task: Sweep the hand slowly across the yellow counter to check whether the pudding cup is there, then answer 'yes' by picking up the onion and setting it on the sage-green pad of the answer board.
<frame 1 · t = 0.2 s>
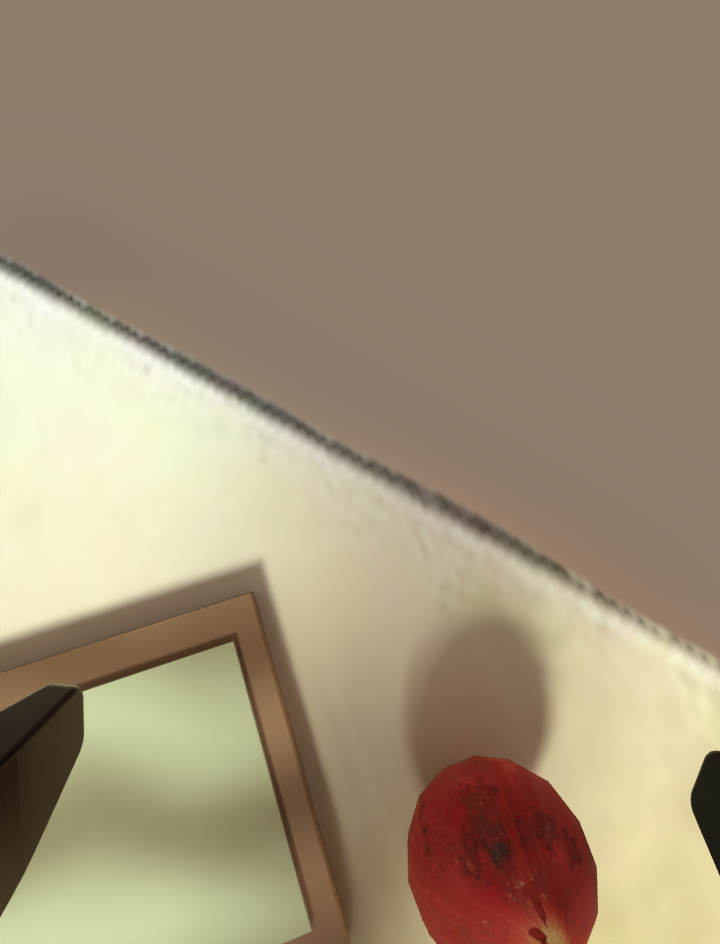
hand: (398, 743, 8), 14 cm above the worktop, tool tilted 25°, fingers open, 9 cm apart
onion: (463, 808, 21), on the worktop
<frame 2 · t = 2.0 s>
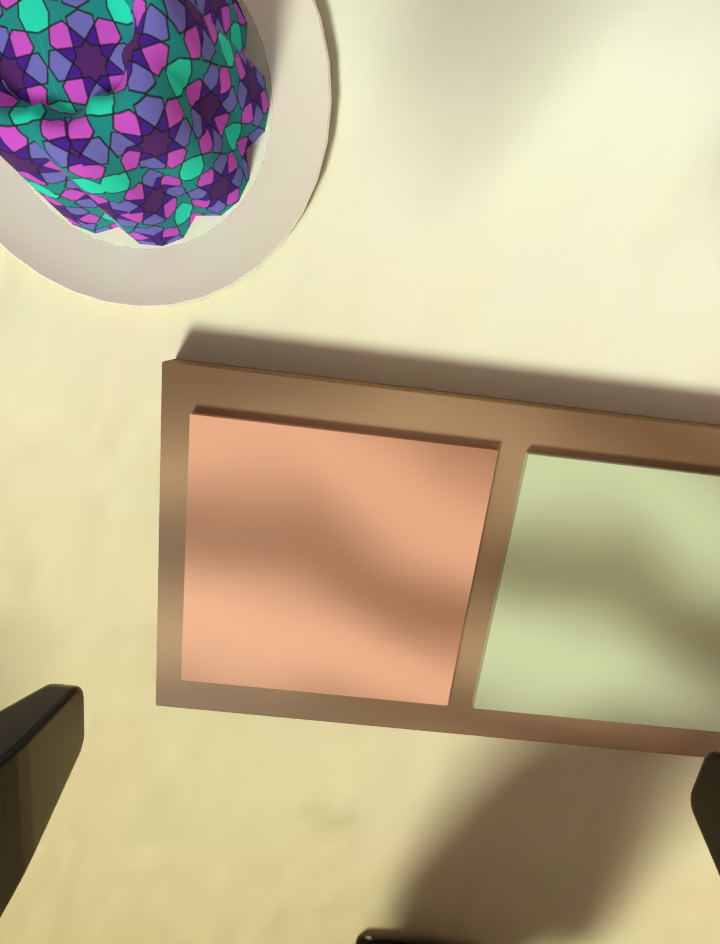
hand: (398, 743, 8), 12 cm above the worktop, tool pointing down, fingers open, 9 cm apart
answer board: (475, 569, 20), on the worktop
pudding: (137, 103, 16), on the worktop
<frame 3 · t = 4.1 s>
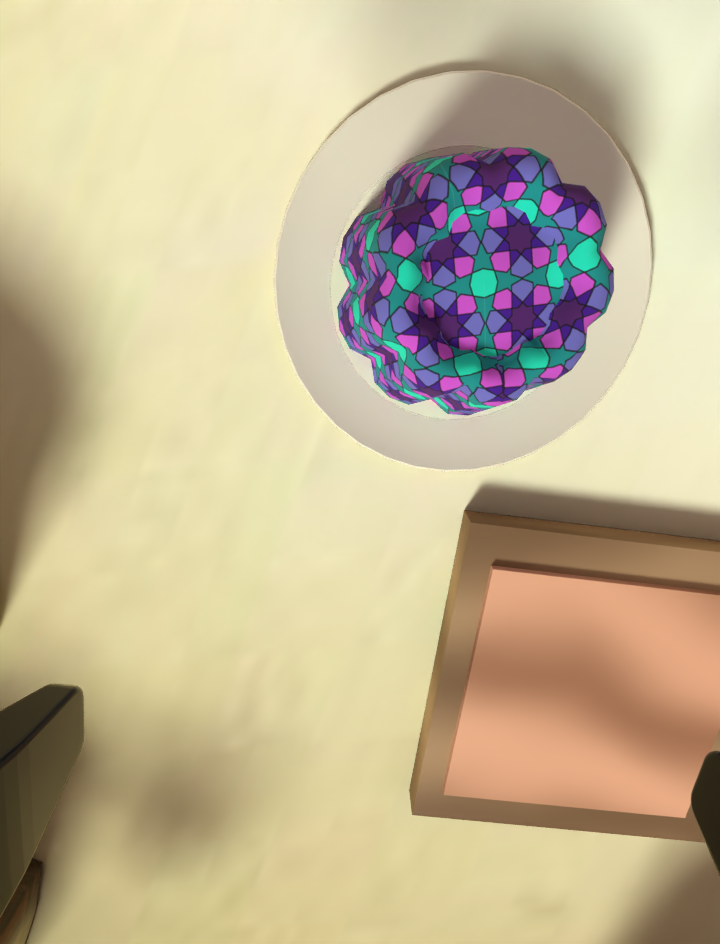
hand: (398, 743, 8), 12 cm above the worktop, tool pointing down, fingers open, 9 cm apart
answer board: (711, 691, 22), on the worktop
pudding: (457, 292, 18), on the worktop
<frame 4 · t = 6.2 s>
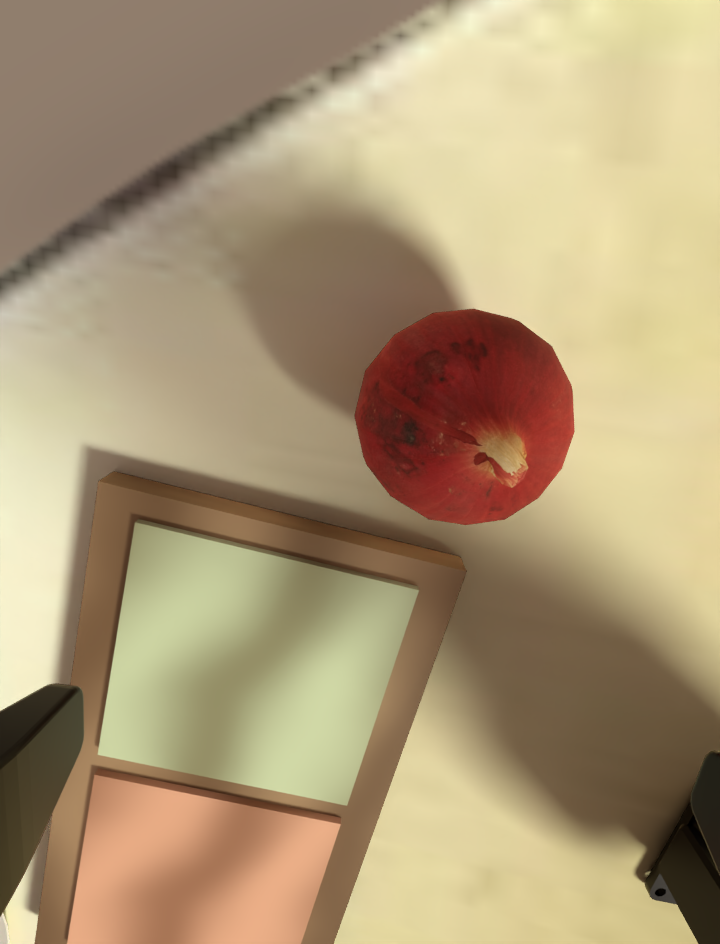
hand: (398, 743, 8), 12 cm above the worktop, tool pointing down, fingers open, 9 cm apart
answer board: (230, 760, 23), on the worktop
onion: (439, 397, 19), on the worktop
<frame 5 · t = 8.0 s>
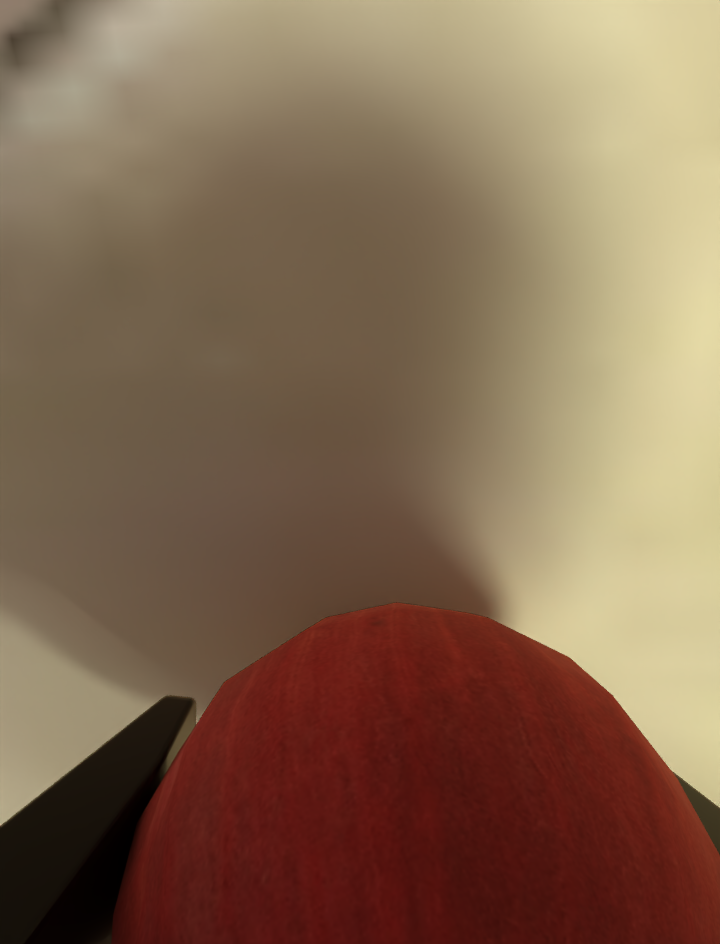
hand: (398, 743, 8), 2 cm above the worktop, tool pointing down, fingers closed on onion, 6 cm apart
onion: (390, 661, 9), on the worktop, touching gripper
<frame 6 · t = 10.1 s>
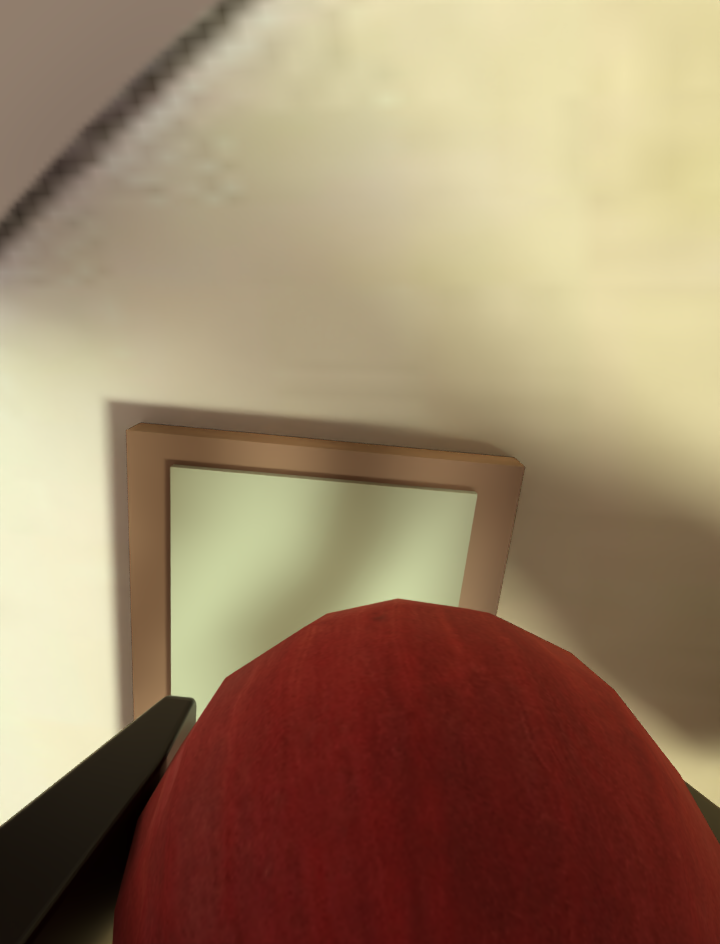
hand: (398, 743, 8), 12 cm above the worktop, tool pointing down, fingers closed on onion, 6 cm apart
answer board: (306, 714, 22), on the worktop
onion: (390, 658, 9), point 10 cm above the worktop, touching gripper
when the fingers open (4 cm above the worktop, at t = 12.4 s): onion stays where it is, resting on answer board.
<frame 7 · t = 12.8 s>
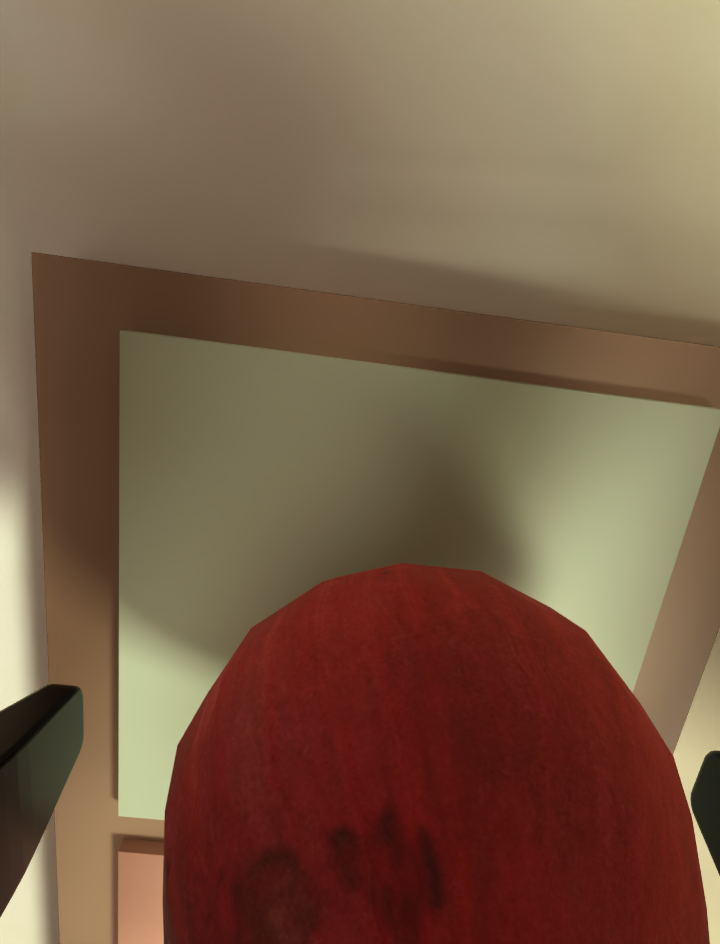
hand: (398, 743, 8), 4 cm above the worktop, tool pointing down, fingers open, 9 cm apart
answer board: (350, 795, 13), on the worktop
onion: (389, 631, 10), point 1 cm above the worktop, touching answer board
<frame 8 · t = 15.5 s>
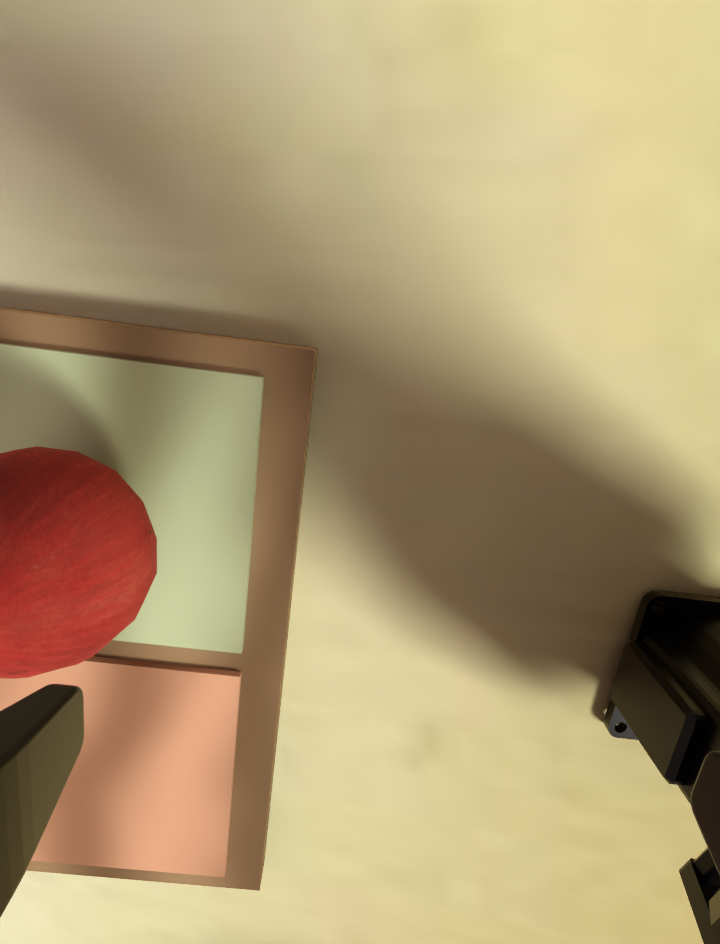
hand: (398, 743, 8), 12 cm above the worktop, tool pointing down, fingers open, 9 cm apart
answer board: (119, 627, 21), on the worktop
onion: (105, 506, 18), point 1 cm above the worktop, touching answer board
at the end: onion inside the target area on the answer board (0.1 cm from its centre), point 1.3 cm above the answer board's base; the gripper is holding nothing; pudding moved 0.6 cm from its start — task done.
